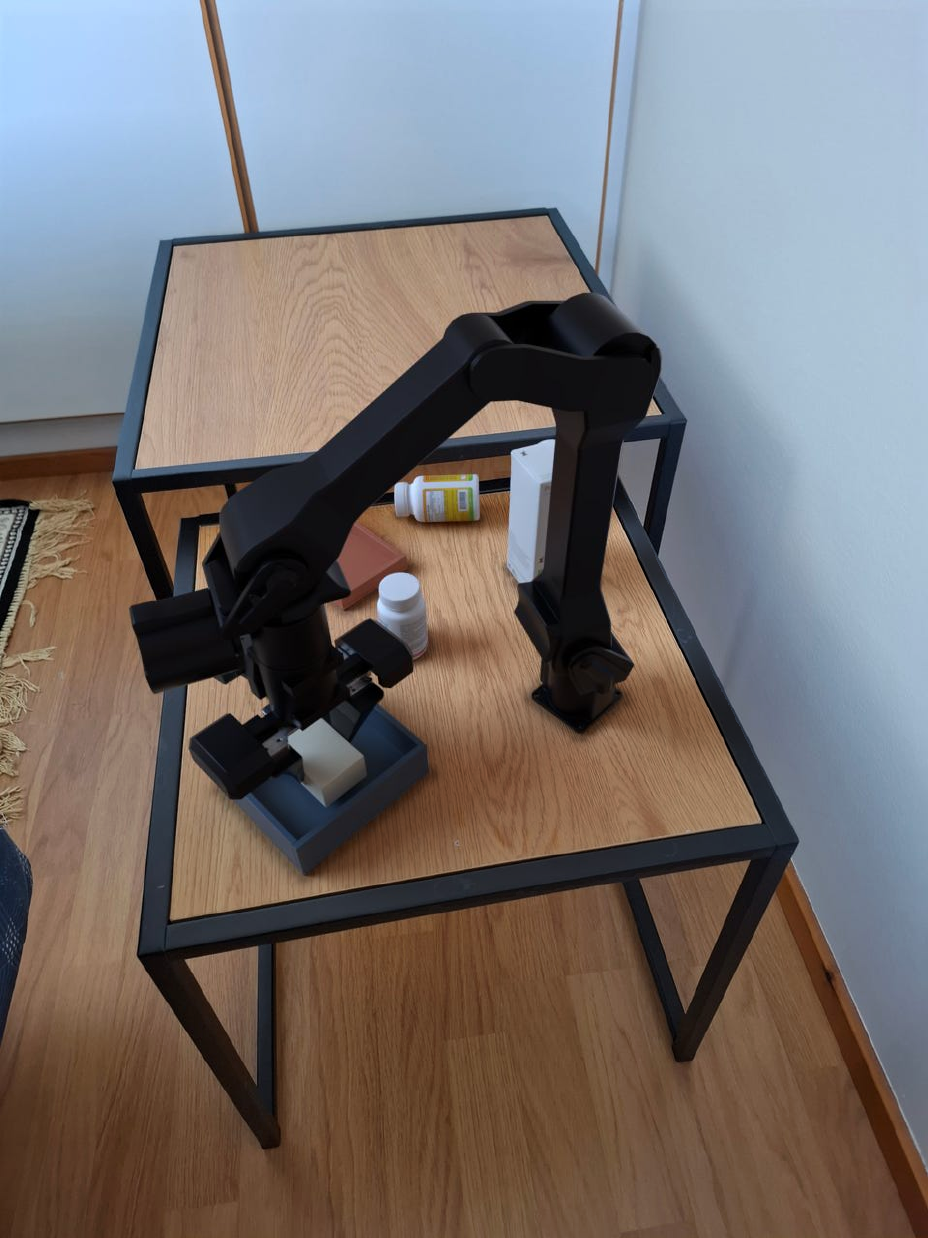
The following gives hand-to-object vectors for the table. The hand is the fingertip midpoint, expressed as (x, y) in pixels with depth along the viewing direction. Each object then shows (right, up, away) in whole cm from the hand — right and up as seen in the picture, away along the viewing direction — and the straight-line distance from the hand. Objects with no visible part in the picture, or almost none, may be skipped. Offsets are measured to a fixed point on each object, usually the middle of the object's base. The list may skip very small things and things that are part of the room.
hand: (320, 762), depth 76 cm
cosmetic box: (+22, +18, +21) cm, 35 cm away
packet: (0, -1, +1) cm, 1 cm away
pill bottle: (+6, +10, +13) cm, 18 cm away
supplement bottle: (+15, +27, +25) cm, 40 cm away
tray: (-1, +19, +22) cm, 29 cm away
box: (0, -2, +2) cm, 3 cm away
